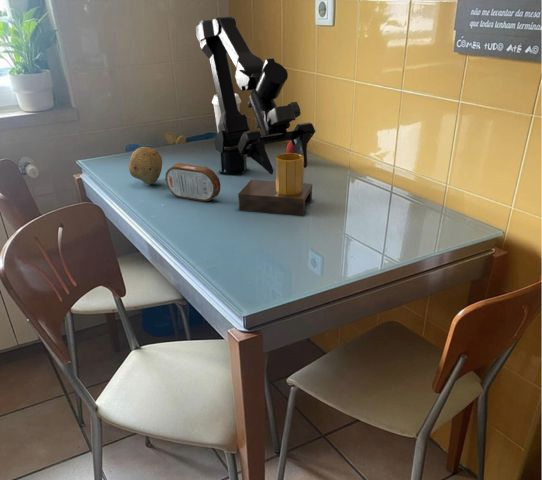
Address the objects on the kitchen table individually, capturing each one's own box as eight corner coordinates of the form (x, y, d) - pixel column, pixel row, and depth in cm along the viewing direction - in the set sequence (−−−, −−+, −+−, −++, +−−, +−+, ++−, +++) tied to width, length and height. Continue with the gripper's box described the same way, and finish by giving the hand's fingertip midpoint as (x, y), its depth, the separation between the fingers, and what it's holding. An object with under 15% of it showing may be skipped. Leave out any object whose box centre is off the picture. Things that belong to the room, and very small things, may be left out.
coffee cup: (211, 146, 180) (208, 97, 171) (218, 139, 188) (215, 92, 179) (239, 147, 179) (237, 98, 170) (245, 140, 186) (243, 92, 178)
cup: (273, 194, 130) (272, 160, 125) (280, 185, 135) (279, 152, 130) (299, 196, 128) (300, 161, 124) (305, 186, 133) (305, 153, 129)
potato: (134, 191, 145) (128, 153, 139) (129, 181, 152) (122, 144, 146) (168, 186, 148) (163, 149, 142) (161, 177, 154) (156, 141, 149)
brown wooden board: (239, 210, 132) (238, 193, 130) (251, 195, 141) (251, 179, 139) (303, 216, 129) (303, 198, 127) (311, 200, 138) (312, 183, 135)
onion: (305, 160, 166) (306, 132, 162) (305, 165, 161) (305, 137, 157) (287, 159, 167) (287, 132, 162) (285, 165, 162) (285, 137, 157)
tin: (222, 200, 138) (219, 167, 133) (216, 204, 136) (213, 171, 131) (172, 192, 144) (168, 160, 139) (165, 196, 141) (161, 164, 136)
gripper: (240, 94, 120) (265, 157, 118) (312, 85, 127) (336, 145, 125) (228, 124, 130) (250, 183, 128) (295, 115, 137) (317, 170, 135)
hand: (289, 170), depth 129 cm, fingers open, 9 cm apart
